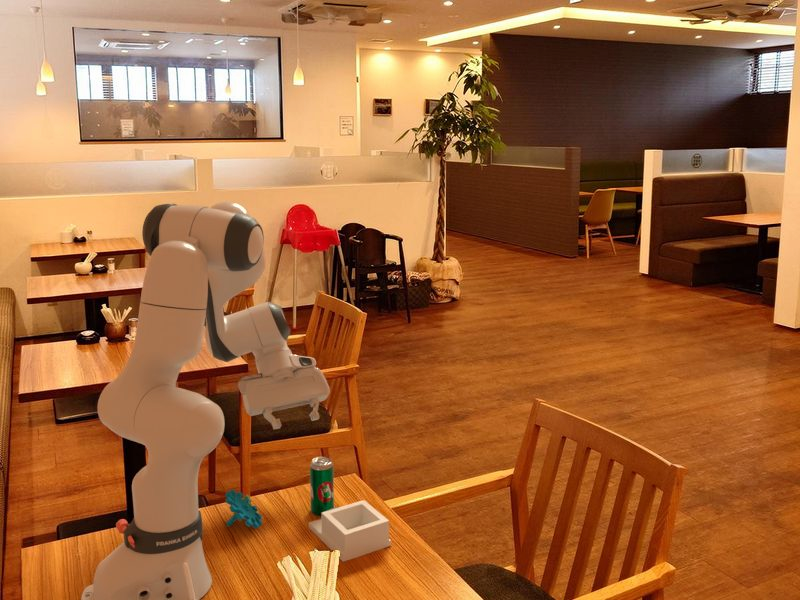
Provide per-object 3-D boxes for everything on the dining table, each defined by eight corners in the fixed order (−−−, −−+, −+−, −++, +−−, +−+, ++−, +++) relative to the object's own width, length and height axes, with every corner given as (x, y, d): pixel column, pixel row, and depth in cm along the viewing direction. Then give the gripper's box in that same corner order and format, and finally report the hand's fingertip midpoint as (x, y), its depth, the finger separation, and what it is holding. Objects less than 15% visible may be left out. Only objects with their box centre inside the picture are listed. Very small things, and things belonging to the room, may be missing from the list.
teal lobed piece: (260, 531, 157) (225, 497, 156) (240, 550, 157) (205, 517, 156) (268, 510, 168) (235, 479, 167) (249, 529, 168) (216, 498, 168)
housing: (343, 561, 149) (342, 535, 148) (308, 527, 162) (308, 502, 160) (391, 545, 155) (391, 520, 154) (354, 513, 167) (354, 489, 166)
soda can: (313, 505, 171) (312, 455, 168) (336, 506, 170) (335, 456, 167) (308, 516, 166) (307, 465, 163) (331, 518, 165) (330, 467, 163)
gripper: (238, 371, 172) (257, 427, 166) (320, 357, 183) (340, 408, 177) (232, 384, 176) (250, 439, 171) (312, 369, 187) (332, 420, 182)
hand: (297, 423), depth 174 cm, fingers open, 8 cm apart
